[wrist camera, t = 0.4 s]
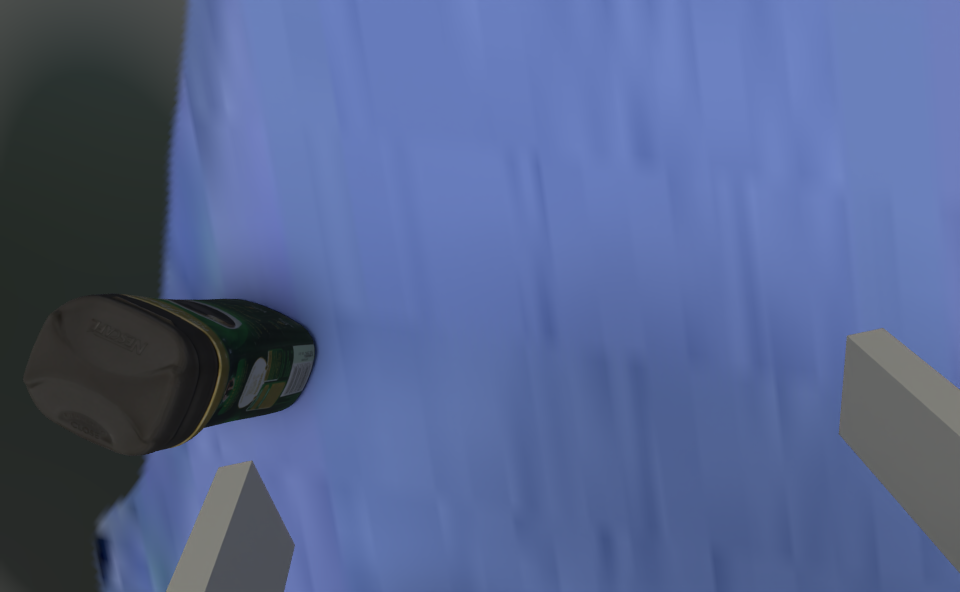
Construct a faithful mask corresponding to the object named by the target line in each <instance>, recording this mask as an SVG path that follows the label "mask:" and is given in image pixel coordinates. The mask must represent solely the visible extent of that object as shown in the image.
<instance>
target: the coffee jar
mask: <svg viewBox="0 0 960 592" xmlns="http://www.w3.org/2000/svg"><path fill="white" fill-rule="evenodd" d="M314 357H315V347H314V342H313V340H312V338H311V336H310V334H309V333H308V331H307V330H306V329H305V328H304V327H303V326H301V325H300V324H298V323H297V322H295V321H294V320H292V319H290V318H288V317H286V316H285V315H283V314H281V313H279V312H276V311H274V310H272V309H270V308H267V307H264V306H262V305H259V304H256V303H253V302H249V301H246V300H241V299H212V300H172V299H158V298H149V297H140V296H132V295H124V294H101V295H88V296H83V297H79V298H76V299H73V300H71V301H69V302H67V303H65V304H63V305H62V306H61V307H59V308H58V309H56V310H55V311H54V312H53V313H51V314H50V315H49V316H48V318H47V319H46V321H45V323H44V325H43V327H42V329H41V331H40V333H39V335H38V337H37V340H36V342H35V344H34V347H33V349H32V352H31V354H30V357H29V360H28V363H27V367H26V370H25V373H24V377H23V381H24V383H25V384H26V385H27V389H28V391H29V394H30V396H31V398H32V400H33V401H34V403H35V405H36V406H37V407H38V409H39V410H40V411H41V412H42V413H43V414H44V415H45V416H46V417H47V418H49V419H50V420H51V421H53V422H54V423H56V424H58V425H60V426H61V427H63V428H65V429H67V430H69V431H71V432H72V433H74V434H76V435H78V436H79V437H82V438H84V439H85V440H88V441H90V442H92V443H94V444H97V445H99V446H102V447H104V448H107V449H110V450H112V451H114V452H116V453H120V454H124V455H129V456H137V455H145V454H149V453H153V452H155V451H159V450H163V449H167V448H173V447H176V446H179V445H181V444H183V443H185V442H187V441H189V440H190V439H192V438H193V437H194V436H196V435H197V434H198V433H199V432H200V431H201V430H202V429H203V428H205V427H209V426H214V425H218V424H222V423H226V422H230V421H235V420H240V419H245V418H251V417H256V416H261V415H266V414H270V413H274V412H278V411H281V410H284V409H286V408H287V407H289V406H290V405H292V404H293V403H294V402H295V401H296V399H297V398H298V397H299V395H300V394H301V392H302V390H303V388H304V387H305V385H306V382H307V380H308V378H309V375H310V373H311V370H312V366H313V362H314Z"/></svg>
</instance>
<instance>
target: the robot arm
mask: <svg viewBox="0 0 960 592" xmlns="http://www.w3.org/2000/svg"><path fill="white" fill-rule="evenodd" d="M839 435H840V436H841V437H842V438H843V439H844V440H845V442H846V443H847V444H848V445H849V446H850V447H851V449H852V450H853V451H854V452H855V453H856V454H857V455H858V457H859V458H860V459H861V460H862V461H863V462H864V463H865V465H866V466H867V467H868V468H869V469H870V470H871V472H872V473H873V474H874V475H875V476H876V477H877V478H878V480H879V481H880V482H881V483H882V484H883V485H884V486H885V488H886V489H887V490H888V491H889V492H890V493H891V495H892V496H893V497H894V498H895V499H896V500H897V501H898V503H899V504H900V505H901V506H902V507H903V508H904V510H905V511H906V512H907V513H908V514H909V515H910V516H911V518H912V519H913V520H914V521H915V522H916V523H917V524H918V526H919V527H920V528H921V529H922V530H923V531H924V533H925V534H926V535H927V536H928V537H929V538H930V539H931V541H932V542H933V543H934V544H935V545H936V546H937V547H938V549H939V550H940V551H941V552H942V553H943V554H944V556H945V557H946V558H947V559H948V560H949V561H950V562H951V564H952V565H953V566H954V567H955V568H956V569H957V571H958V572H959V573H960V390H959V389H958V388H957V387H956V386H954V385H953V384H952V383H951V382H949V381H948V380H947V379H946V378H944V377H943V376H942V375H941V374H939V373H938V372H937V371H936V370H934V369H933V368H932V367H931V366H929V365H928V364H927V363H926V362H924V361H923V360H922V359H921V358H920V357H918V356H917V355H916V354H915V353H913V352H912V351H911V350H910V349H908V348H907V347H906V346H905V345H903V344H902V343H901V342H900V341H898V340H897V339H896V338H895V337H893V336H892V335H891V334H890V333H888V332H887V331H886V330H885V329H883V328H881V329H877V330H872V331H867V332H862V333H857V334H853V335H848V336H847V342H846V354H845V366H844V378H843V390H842V402H841V414H840V426H839ZM294 547H295V544H294V542H293V540H292V538H291V536H290V535H289V533H288V531H287V529H286V527H285V525H284V523H283V521H282V519H281V517H280V515H279V513H278V511H277V509H276V507H275V505H274V503H273V501H272V499H271V497H270V495H269V493H268V491H267V489H266V487H265V485H264V483H263V481H262V479H261V477H260V475H259V473H258V471H257V469H256V467H255V465H254V463H253V461H248V462H243V463H238V464H233V465H229V466H224V467H219V468H218V470H217V473H216V475H215V477H214V480H213V482H212V485H211V487H210V489H209V492H208V494H207V496H206V499H205V501H204V503H203V506H202V508H201V510H200V513H199V515H198V518H197V520H196V522H195V525H194V527H193V529H192V532H191V534H190V536H189V539H188V541H187V544H186V546H185V548H184V551H183V553H182V555H181V558H180V560H179V562H178V565H177V567H176V570H175V572H174V574H173V577H172V579H171V581H170V584H169V586H168V588H167V591H166V592H284V589H285V585H286V581H287V576H288V572H289V568H290V564H291V559H292V555H293V551H294Z"/></svg>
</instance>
